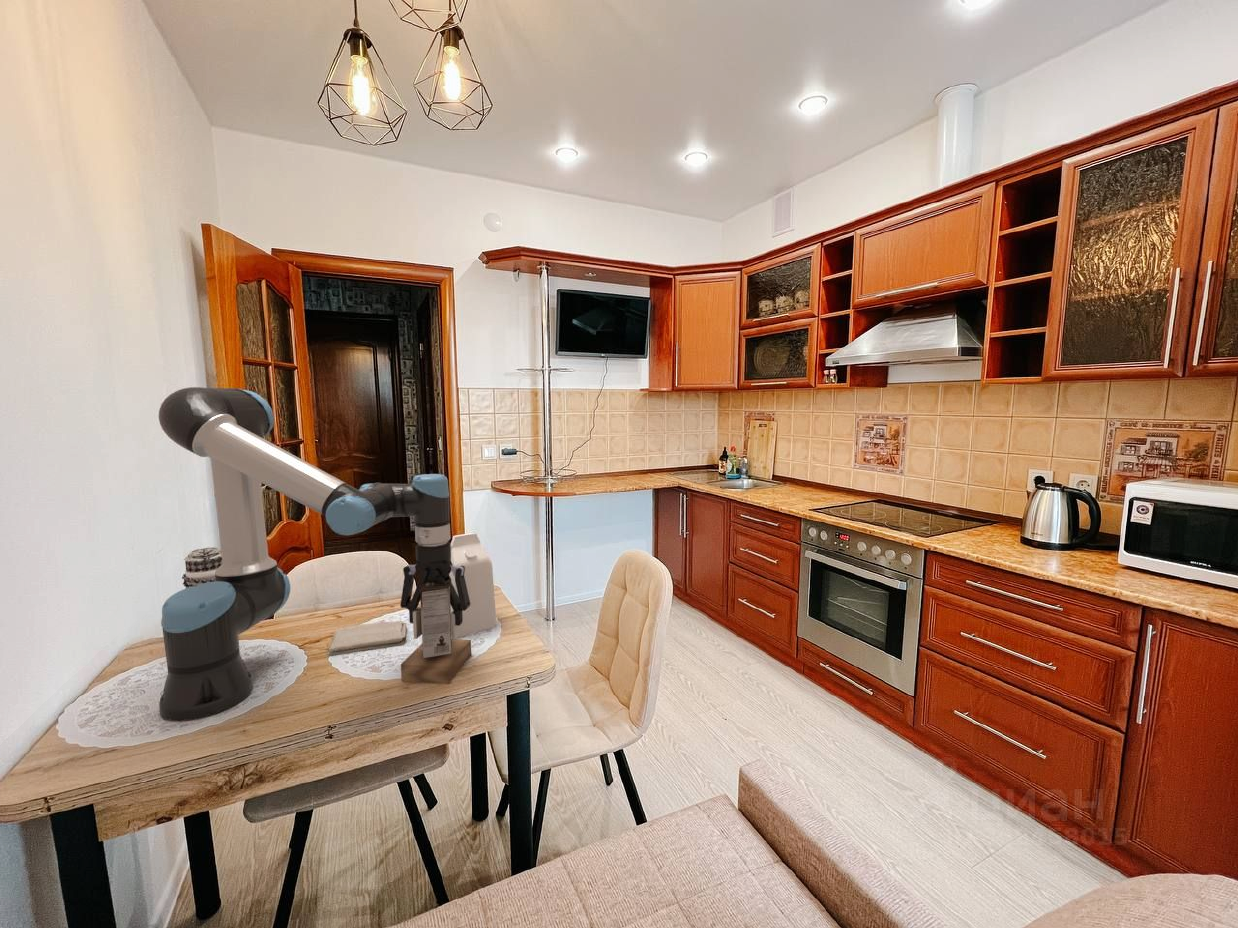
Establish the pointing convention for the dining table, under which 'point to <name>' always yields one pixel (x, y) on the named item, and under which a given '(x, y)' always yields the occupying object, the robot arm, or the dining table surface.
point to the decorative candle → (201, 566)
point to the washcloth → (367, 637)
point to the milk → (474, 583)
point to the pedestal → (436, 664)
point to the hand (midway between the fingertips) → (436, 636)
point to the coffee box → (435, 619)
